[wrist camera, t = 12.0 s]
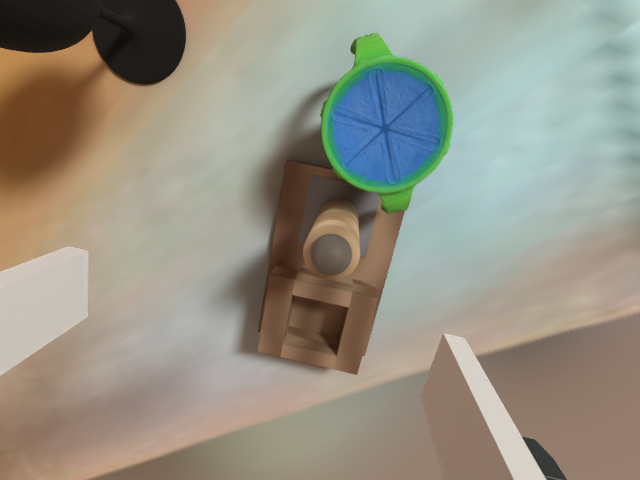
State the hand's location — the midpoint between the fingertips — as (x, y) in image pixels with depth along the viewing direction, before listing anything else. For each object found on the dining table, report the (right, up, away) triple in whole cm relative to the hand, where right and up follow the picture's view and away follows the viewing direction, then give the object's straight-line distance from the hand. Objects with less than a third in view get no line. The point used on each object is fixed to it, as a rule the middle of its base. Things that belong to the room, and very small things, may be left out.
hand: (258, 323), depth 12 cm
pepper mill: (+4, +6, +26) cm, 27 cm away
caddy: (+3, 0, +29) cm, 29 cm away
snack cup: (+9, +15, +25) cm, 30 cm away
